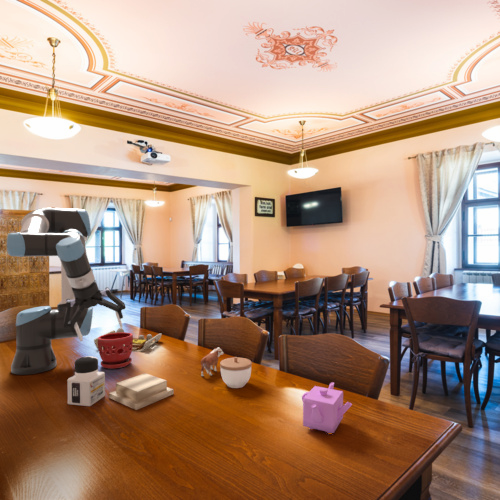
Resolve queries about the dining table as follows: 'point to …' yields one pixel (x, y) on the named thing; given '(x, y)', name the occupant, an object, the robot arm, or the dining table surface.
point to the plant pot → (115, 349)
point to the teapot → (323, 408)
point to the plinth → (141, 403)
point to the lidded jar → (235, 371)
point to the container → (86, 382)
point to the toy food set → (137, 341)
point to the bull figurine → (210, 361)
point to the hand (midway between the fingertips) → (101, 332)
